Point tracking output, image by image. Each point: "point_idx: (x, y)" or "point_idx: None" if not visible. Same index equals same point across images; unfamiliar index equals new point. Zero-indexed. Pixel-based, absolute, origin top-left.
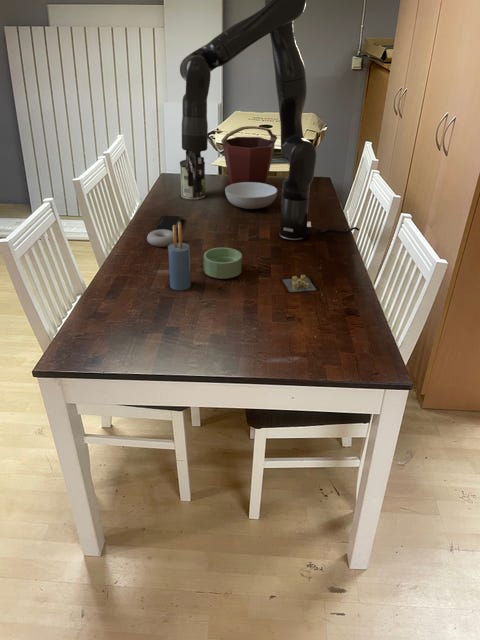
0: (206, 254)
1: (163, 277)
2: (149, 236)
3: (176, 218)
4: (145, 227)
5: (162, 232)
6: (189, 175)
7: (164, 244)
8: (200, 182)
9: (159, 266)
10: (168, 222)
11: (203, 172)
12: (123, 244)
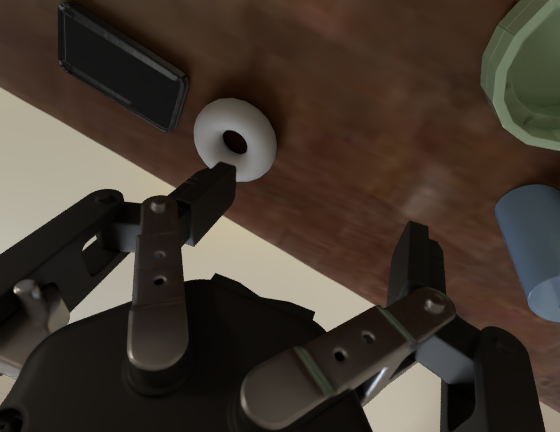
0: (519, 125)
1: (448, 219)
2: (236, 180)
3: (76, 28)
4: (131, 133)
5: (214, 137)
6: (197, 234)
7: (275, 151)
8: (444, 290)
9: (381, 201)
10: (111, 69)
11: (536, 402)
12: (226, 213)
